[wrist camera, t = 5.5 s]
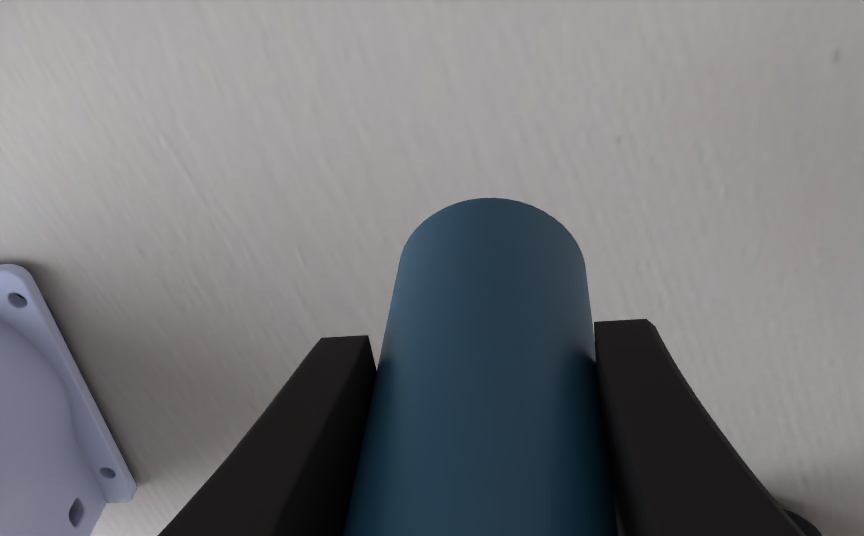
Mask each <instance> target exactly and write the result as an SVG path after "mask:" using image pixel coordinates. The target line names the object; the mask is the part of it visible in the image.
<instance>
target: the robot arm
mask: <svg viewBox="0 0 864 536" xmlns="http://www.w3.org/2000/svg"><path fill="white" fill-rule="evenodd" d="M17 293H18V294H20V295H22V296H23V297H24V298H25V299H23V298H21V297H19V296H18V295H17ZM594 334H595V359H596V371H597V379H598V387H599V395H600V403H601V412H602V420H603V427H604V432H605V438H606V443H607V449H608V455H609V463H610V471H611V479H612V487H613V495H614V503H615V512H616V520H617V528H618V536H806V535H805V534H804V533H803V531H802V530H801V529H800V528H799V527H798V526H797V525H796V524H795V522H794V521H793V520H792V519H791V518H790V517H789V516H788V514H787V513H786V512H785V511H784V510H783V509H782V507H781V506H780V505H779V504H778V503H777V501H776V500H775V499H774V498H773V497H772V495H771V494H770V493H769V492H768V491H767V489H766V488H765V487H764V486H763V485H762V484H761V482H760V481H759V480H758V479H757V477H756V476H755V475H754V474H753V472H752V471H751V470H750V469H749V467H748V466H747V465H746V463H745V462H744V461H743V460H742V458H741V457H740V456H739V454H738V453H737V452H736V450H735V449H734V448H733V446H732V445H731V444H730V442H729V441H728V440H727V438H726V437H725V436H724V434H723V433H722V432H721V430H720V429H719V428H718V426H717V425H716V423H715V422H714V421H713V419H712V418H711V417H710V415H709V414H708V412H707V411H706V410H705V408H704V407H703V405H702V404H701V402H700V401H699V399H698V398H697V397H696V395H695V393H694V392H693V390H692V389H691V387H690V386H689V384H688V383H687V381H686V380H685V378H684V377H683V375H682V373H681V372H680V370H679V369H678V367H677V365H676V364H675V362H674V360H673V359H672V357H671V355H670V353H669V352H668V350H667V348H666V346H665V344H664V343H663V341H662V339H661V337H660V335H659V333H658V331H657V329H656V327H655V326H654V325H653V324H652V323H651V322H649V321H648V320H647V319H636V320H619V321H602V322H594ZM376 373H377V370H376V366H375V362H374V358H373V353H372V349H371V345H370V341H369V337H368V335H363V336H346V337H329V338H321V339H320V340H319V341H318V342H317V344H316V345H315V346H314V347H313V348H312V350H311V351H310V352H309V354H308V355H307V356H306V357H305V359H304V360H303V361H302V363H301V364H300V365H299V367H298V368H297V369H296V371H295V372H294V373H293V375H292V376H291V377H290V378H289V380H288V381H287V382H286V384H285V385H284V386H283V388H282V389H281V390H280V392H279V393H278V394H277V396H276V397H275V398H274V399H273V401H272V402H271V403H270V405H269V406H268V407H267V408H266V410H265V411H264V412H263V414H262V415H261V416H260V418H259V419H258V420H257V421H256V422H255V424H254V425H253V426H252V427H251V429H250V430H249V431H248V432H247V434H246V435H245V436H244V437H243V439H242V440H241V441H240V442H239V443H238V445H237V446H236V447H235V448H234V450H233V451H232V452H231V453H230V455H229V456H228V457H227V458H226V460H225V461H224V462H223V463H222V464H221V465H220V467H219V468H218V469H217V470H216V471H215V473H214V474H213V475H212V476H211V477H210V478H209V479H208V480H207V482H206V483H205V484H204V485H203V486H202V487H201V488H200V489H199V491H198V492H197V493H196V494H195V495H194V496H193V497H192V498H191V500H190V501H189V502H188V503H187V504H186V505H185V506H184V507H183V509H182V510H181V511H180V512H179V513H178V514H177V515H176V516H175V518H174V519H173V520H172V521H171V522H170V523H169V524H168V525H167V526H166V527H165V528H164V529H163V531H162V532H161V533H160V534H159V535H158V536H343V532H344V528H345V523H346V518H347V513H348V508H349V504H350V499H351V494H352V489H353V484H354V479H355V475H356V470H357V465H358V460H359V455H360V450H361V446H362V441H363V436H364V431H365V426H366V422H367V417H368V412H369V407H370V402H371V397H372V393H373V388H374V383H375V378H376ZM136 490H137V486H136V483H135V481H134V479H133V477H132V475H131V473H130V471H129V469H128V467H127V465H126V463H125V461H124V459H123V457H122V455H121V453H120V451H119V449H118V447H117V445H116V443H115V441H114V439H113V437H112V435H111V433H110V431H109V429H108V427H107V425H106V423H105V421H104V419H103V417H102V415H101V413H100V411H99V409H98V407H97V405H96V403H95V401H94V399H93V397H92V395H91V393H90V391H89V389H88V387H87V385H86V383H85V381H84V379H83V377H82V375H81V373H80V371H79V369H78V367H77V365H76V363H75V361H74V359H73V357H72V355H71V353H70V351H69V349H68V347H67V345H66V343H65V341H64V339H63V337H62V335H61V333H60V331H59V329H58V327H57V325H56V323H55V321H54V319H53V317H52V315H51V313H50V311H49V309H48V307H47V305H46V303H45V301H44V299H43V297H42V295H41V293H40V291H39V289H38V287H37V285H36V283H35V281H34V279H33V277H32V276H31V274H30V273H29V272H28V271H27V270H26V269H24V268H23V267H21V266H18V265H16V264H0V536H90V534H91V532H92V530H93V529H94V527H95V525H96V523H97V521H98V519H99V517H100V515H101V513H102V511H103V509H104V507H105V505H106V503H120V502H128V501H130V500H132V499H133V497H134V494H135V492H136Z"/></svg>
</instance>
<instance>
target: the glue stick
mask: <svg viewBox="0 0 864 536" xmlns="http://www.w3.org/2000/svg"><path fill="white" fill-rule="evenodd" d="M343 536H618V528H617V520H616V512H615V503H614V495H613V487H612V479H611V471H610V463H609V455H608V449H607V443H606V438H605V432H604V427H603V420H602V412H601V403H600V395H599V387H598V379H597V371H596V359H595V341H594V333H593V325H592V317H591V309H590V301H589V293H588V285H587V276H586V269H585V262H584V259H583V255H582V252H581V250H580V248H579V246H578V244H577V242H576V241H575V239H574V238H573V236H572V235H571V234H570V233H569V232H568V230H567V229H566V228H565V227H564V226H563V225H562V224H561V223H559V222H558V221H557V220H556V219H555V218H553V217H552V216H550V215H549V214H547V213H545V212H544V211H542V210H540V209H538V208H536V207H534V206H531V205H528V204H525V203H522V202H519V201H514V200H509V199H501V198H480V199H472V200H467V201H463V202H459V203H456V204H453V205H451V206H448V207H446V208H444V209H442V210H440V211H438V212H437V213H435V214H433V215H432V216H431V217H429V218H428V219H426V220H425V221H424V222H423V223H422V224H421V225H420V226H419V227H418V228H417V229H416V230H415V231H414V232H413V234H412V235H411V236H410V237H409V239H408V241H407V243H406V245H405V246H404V249H403V252H402V254H401V257H400V262H399V267H398V272H397V277H396V282H395V286H394V291H393V296H392V301H391V306H390V311H389V315H388V320H387V325H386V330H385V335H384V339H383V344H382V349H381V354H380V359H379V364H378V368H377V373H376V378H375V383H374V388H373V393H372V397H371V402H370V407H369V412H368V417H367V422H366V426H365V431H364V436H363V441H362V446H361V450H360V455H359V460H358V465H357V470H356V475H355V479H354V484H353V489H352V494H351V499H350V504H349V508H348V513H347V518H346V523H345V528H344V532H343Z"/></svg>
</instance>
